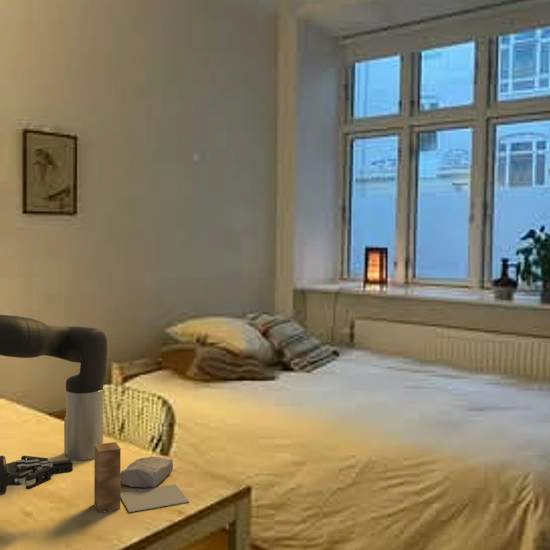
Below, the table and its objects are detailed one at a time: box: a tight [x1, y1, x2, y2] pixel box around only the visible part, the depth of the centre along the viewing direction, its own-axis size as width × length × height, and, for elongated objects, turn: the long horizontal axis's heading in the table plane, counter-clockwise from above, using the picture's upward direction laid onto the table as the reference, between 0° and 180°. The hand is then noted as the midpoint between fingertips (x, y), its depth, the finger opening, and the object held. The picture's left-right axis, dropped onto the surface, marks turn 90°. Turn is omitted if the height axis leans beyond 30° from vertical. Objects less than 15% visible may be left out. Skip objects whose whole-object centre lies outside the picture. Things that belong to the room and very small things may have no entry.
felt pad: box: [120, 483, 190, 514], centre depth 139 cm, size 13×10×1 cm
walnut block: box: [93, 441, 122, 514], centre depth 134 cm, size 4×4×13 cm
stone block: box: [120, 455, 174, 489], centre depth 150 cm, size 12×5×10 cm
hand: (71, 465), depth 131 cm, fingers closed
